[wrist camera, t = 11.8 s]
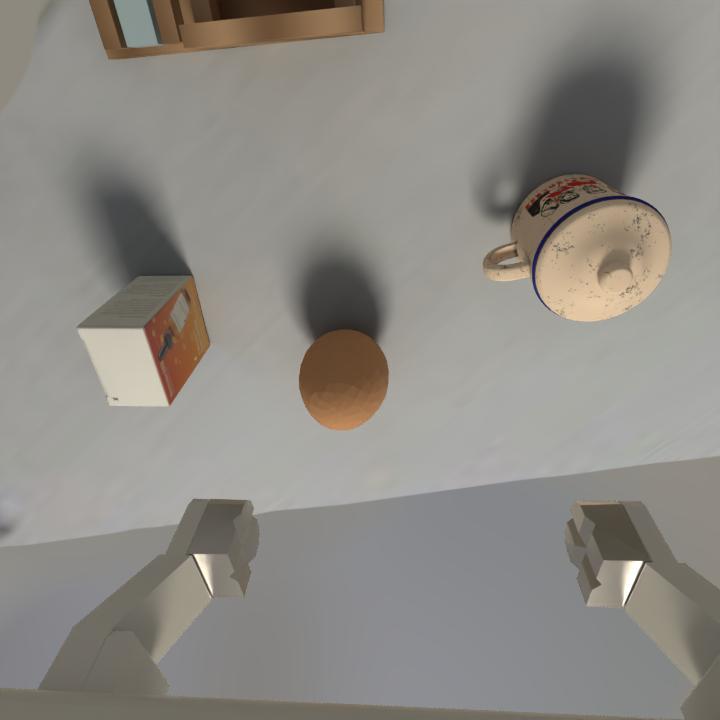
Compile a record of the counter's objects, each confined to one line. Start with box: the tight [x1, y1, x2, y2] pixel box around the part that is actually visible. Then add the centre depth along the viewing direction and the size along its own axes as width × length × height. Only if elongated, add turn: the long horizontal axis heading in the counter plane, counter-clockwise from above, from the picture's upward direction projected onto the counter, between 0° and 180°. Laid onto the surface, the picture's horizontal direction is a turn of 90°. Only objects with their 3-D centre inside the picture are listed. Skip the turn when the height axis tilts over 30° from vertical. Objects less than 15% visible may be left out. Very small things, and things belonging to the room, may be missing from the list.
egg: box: [299, 329, 389, 430], centre depth 42 cm, size 8×8×11 cm
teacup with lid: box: [483, 174, 672, 321], centre depth 34 cm, size 12×9×12 cm
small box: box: [76, 276, 210, 406], centre depth 41 cm, size 8×6×10 cm
